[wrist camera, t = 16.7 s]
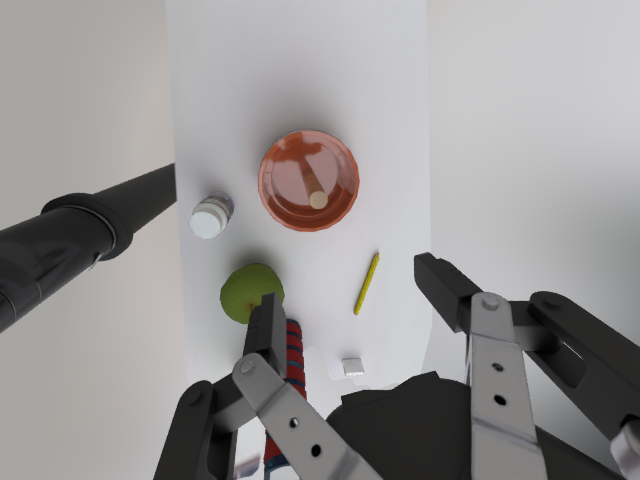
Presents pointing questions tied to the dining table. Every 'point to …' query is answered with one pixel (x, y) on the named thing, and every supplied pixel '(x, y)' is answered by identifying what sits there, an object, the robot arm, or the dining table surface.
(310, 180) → the stirring stick
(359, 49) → the dining table surface
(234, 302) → the apple
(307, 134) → the bowl
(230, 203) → the pill bottle
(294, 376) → the red striped curved tube
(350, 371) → the eraser
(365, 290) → the pencil
